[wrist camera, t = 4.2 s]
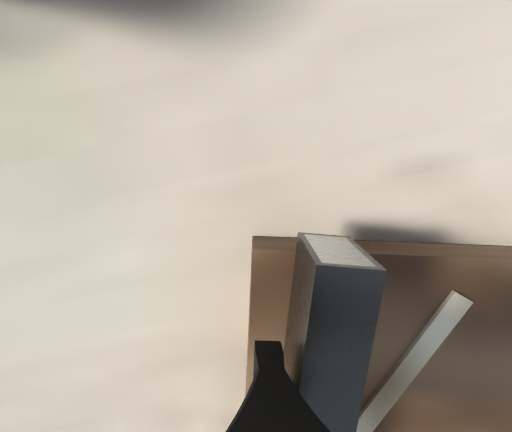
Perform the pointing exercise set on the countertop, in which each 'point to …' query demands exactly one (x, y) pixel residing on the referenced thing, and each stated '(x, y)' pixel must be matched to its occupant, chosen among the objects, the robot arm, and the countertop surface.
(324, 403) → the lever
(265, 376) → the robot arm
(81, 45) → the countertop surface
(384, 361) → the base
